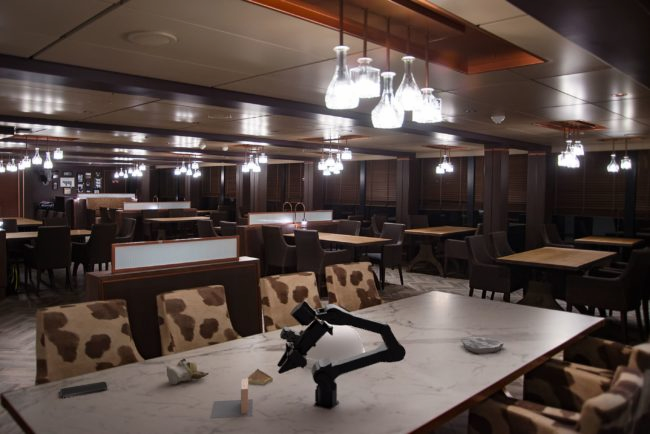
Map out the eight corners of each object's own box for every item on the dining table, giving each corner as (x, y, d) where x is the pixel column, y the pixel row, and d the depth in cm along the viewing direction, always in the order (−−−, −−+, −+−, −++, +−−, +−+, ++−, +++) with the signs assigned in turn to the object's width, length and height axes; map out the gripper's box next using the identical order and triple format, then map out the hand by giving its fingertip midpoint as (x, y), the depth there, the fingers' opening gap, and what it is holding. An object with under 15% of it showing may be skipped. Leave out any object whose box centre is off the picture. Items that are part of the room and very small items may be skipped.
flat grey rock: (479, 340, 243) (479, 334, 243) (509, 349, 229) (509, 343, 228) (451, 347, 232) (451, 341, 232) (480, 357, 218) (480, 350, 218)
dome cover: (281, 364, 209) (281, 330, 208) (313, 344, 236) (314, 314, 235) (353, 376, 195) (353, 340, 194) (378, 354, 222) (378, 322, 221)
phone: (107, 388, 179) (60, 396, 172) (107, 391, 179) (60, 399, 172) (105, 381, 186) (60, 388, 179) (105, 384, 186) (60, 391, 179)
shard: (257, 373, 199) (257, 367, 199) (279, 375, 197) (279, 369, 196) (244, 385, 186) (244, 379, 186) (268, 387, 184) (268, 381, 184)
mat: (252, 400, 171) (252, 399, 171) (252, 416, 158) (252, 415, 158) (214, 402, 170) (214, 401, 170) (210, 419, 157) (210, 418, 157)
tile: (248, 401, 169) (248, 378, 169) (247, 413, 160) (247, 388, 160) (241, 402, 169) (241, 378, 169) (241, 413, 160) (240, 389, 160)
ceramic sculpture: (160, 358, 187) (195, 352, 198) (159, 381, 187) (194, 373, 198) (174, 365, 180) (210, 358, 191) (173, 389, 180) (209, 381, 191)
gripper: (292, 312, 175) (260, 344, 174) (296, 326, 156) (261, 362, 155) (315, 333, 176) (283, 366, 175) (321, 350, 158) (286, 386, 157)
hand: (278, 369), depth 165 cm, fingers open, 6 cm apart
